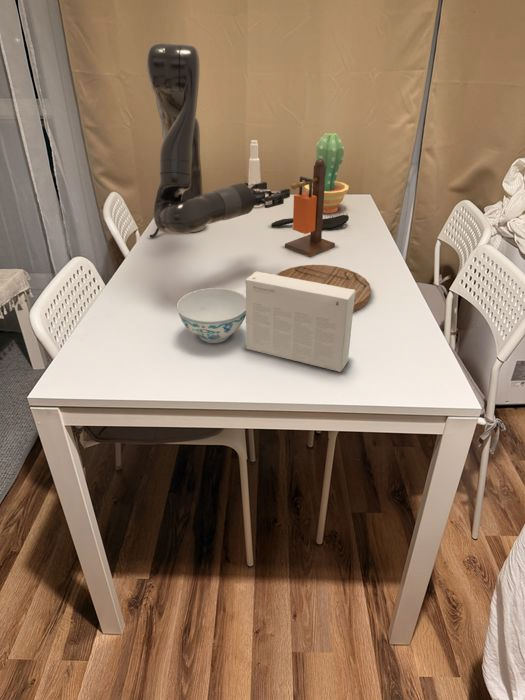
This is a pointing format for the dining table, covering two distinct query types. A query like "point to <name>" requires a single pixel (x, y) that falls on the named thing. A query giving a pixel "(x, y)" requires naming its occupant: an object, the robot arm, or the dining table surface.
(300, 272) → the trivet
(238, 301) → the chinaware
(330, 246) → the hook stand
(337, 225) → the hairbrush
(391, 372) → the dining table surface
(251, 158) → the cosmetic bottle
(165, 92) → the robot arm
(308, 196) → the orange handled weight
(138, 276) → the dining table surface
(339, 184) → the potted cactus
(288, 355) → the skincare box
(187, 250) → the dining table surface
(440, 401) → the dining table surface
